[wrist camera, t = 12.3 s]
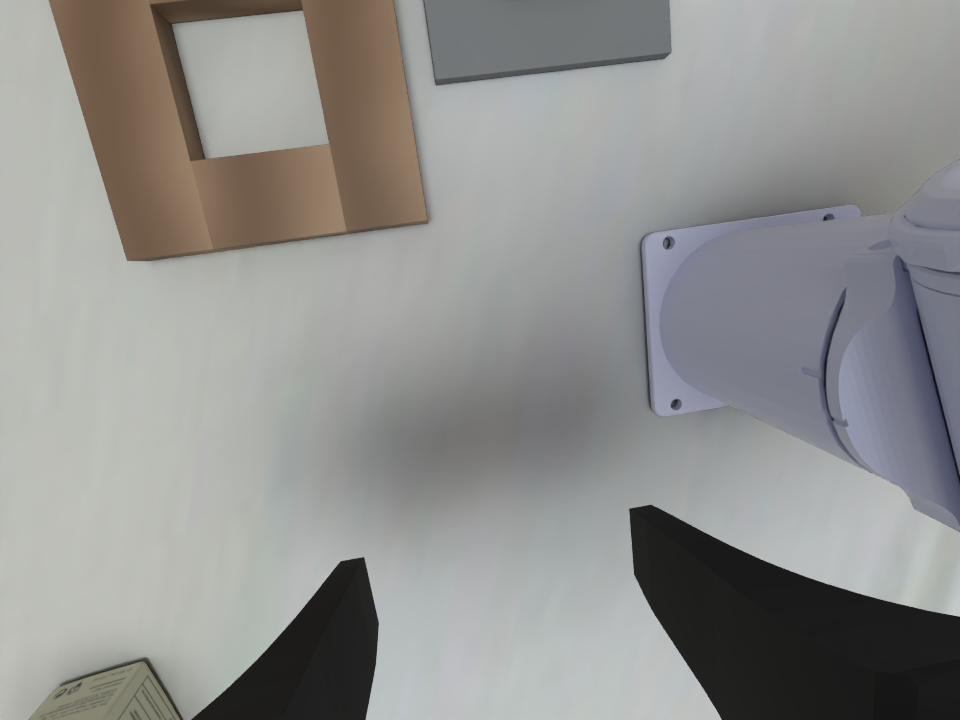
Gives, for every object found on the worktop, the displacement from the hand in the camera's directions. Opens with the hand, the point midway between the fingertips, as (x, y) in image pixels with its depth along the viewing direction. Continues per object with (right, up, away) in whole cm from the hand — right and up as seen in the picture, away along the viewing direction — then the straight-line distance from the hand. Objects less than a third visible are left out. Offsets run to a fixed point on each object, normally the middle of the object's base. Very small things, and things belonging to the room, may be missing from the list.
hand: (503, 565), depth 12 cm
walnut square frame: (-9, +15, +5) cm, 18 cm away
